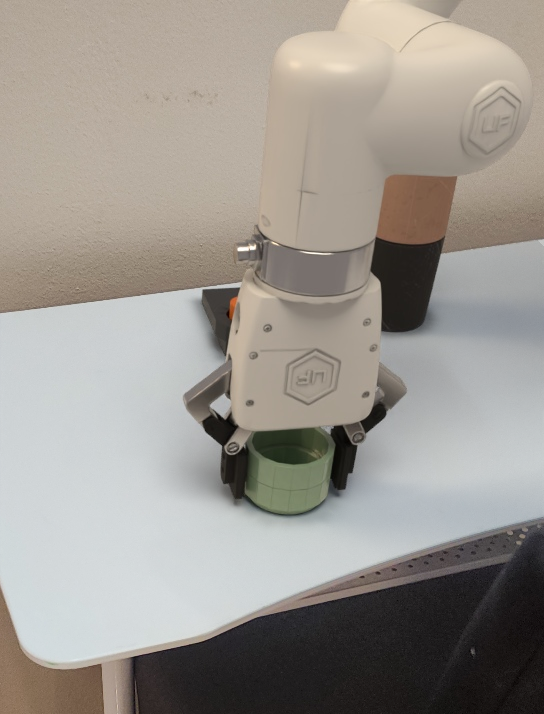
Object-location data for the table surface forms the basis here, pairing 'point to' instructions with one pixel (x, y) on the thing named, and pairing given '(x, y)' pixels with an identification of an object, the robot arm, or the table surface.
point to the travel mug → (410, 245)
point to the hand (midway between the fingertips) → (285, 482)
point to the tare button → (232, 307)
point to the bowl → (289, 469)
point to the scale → (219, 312)
